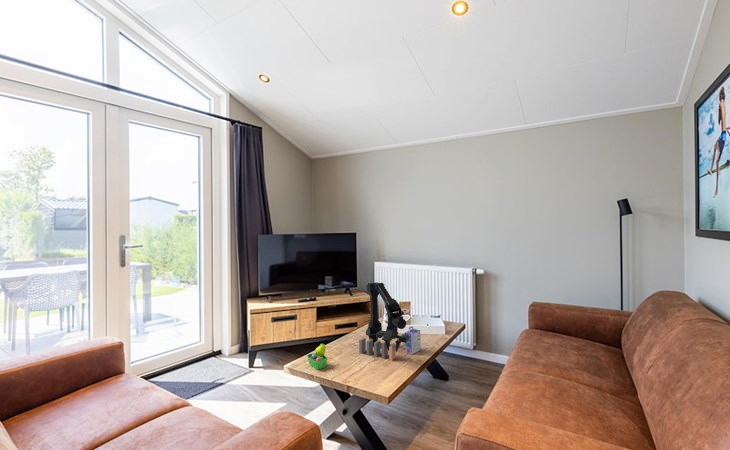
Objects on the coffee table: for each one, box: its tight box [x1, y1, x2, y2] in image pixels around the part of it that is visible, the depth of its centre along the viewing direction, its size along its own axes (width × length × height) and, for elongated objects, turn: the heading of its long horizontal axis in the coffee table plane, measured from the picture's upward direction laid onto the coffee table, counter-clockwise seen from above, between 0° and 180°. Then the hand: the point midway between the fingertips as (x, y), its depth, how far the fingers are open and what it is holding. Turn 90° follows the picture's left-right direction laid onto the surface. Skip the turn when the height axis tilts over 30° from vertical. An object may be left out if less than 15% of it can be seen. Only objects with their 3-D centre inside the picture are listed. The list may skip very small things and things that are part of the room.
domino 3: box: [373, 339, 381, 358], centre depth 199 cm, size 5×2×8 cm, turn 150°
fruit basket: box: [306, 343, 328, 371], centre depth 186 cm, size 11×9×11 cm
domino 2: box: [366, 339, 374, 356], centre depth 202 cm, size 5×2×8 cm, turn 150°
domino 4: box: [380, 341, 389, 360], centre depth 197 cm, size 5×2×8 cm, turn 150°
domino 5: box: [388, 343, 396, 362], centre depth 194 cm, size 5×2×8 cm, turn 150°
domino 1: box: [358, 337, 367, 355], centre depth 204 cm, size 5×2×8 cm, turn 150°
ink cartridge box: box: [404, 326, 422, 355], centre depth 205 cm, size 10×6×14 cm, turn 137°
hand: (392, 351), depth 194 cm, fingers open, 4 cm apart
